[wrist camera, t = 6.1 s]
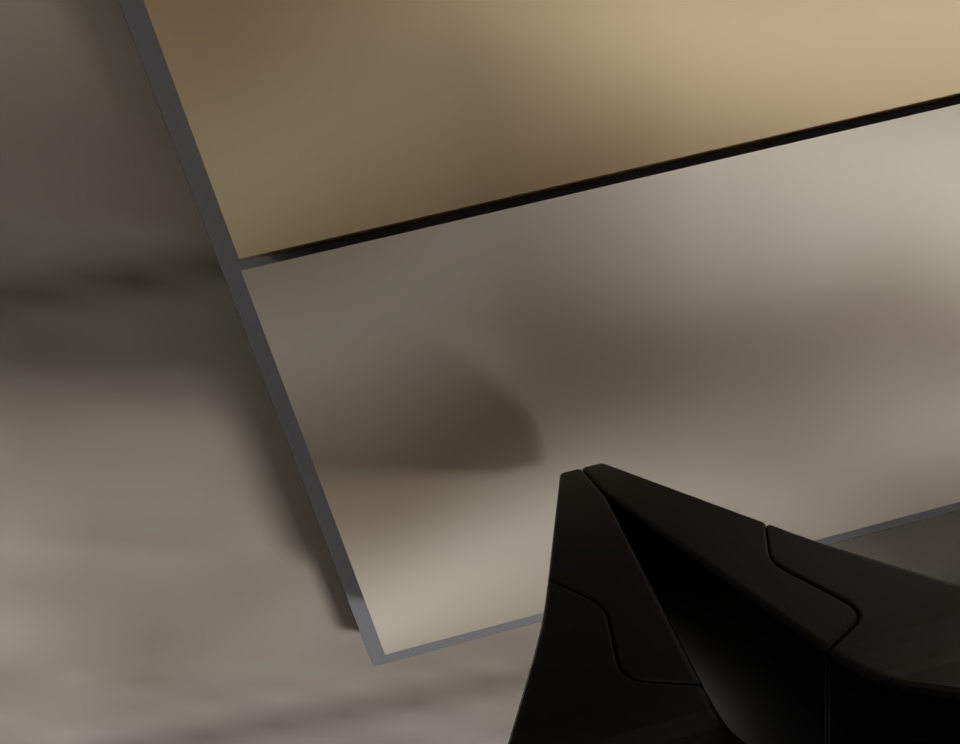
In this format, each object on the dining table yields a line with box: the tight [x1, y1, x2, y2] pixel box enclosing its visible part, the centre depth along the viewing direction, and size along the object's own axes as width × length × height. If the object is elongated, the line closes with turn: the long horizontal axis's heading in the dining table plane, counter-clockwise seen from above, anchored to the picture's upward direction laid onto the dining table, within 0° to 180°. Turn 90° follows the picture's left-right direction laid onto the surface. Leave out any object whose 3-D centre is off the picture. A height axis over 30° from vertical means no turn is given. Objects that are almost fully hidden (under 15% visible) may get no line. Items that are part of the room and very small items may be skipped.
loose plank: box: [241, 104, 960, 655], centre depth 10 cm, size 9×20×2 cm, turn 103°
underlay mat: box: [118, 0, 960, 666], centre depth 10 cm, size 23×22×1 cm
